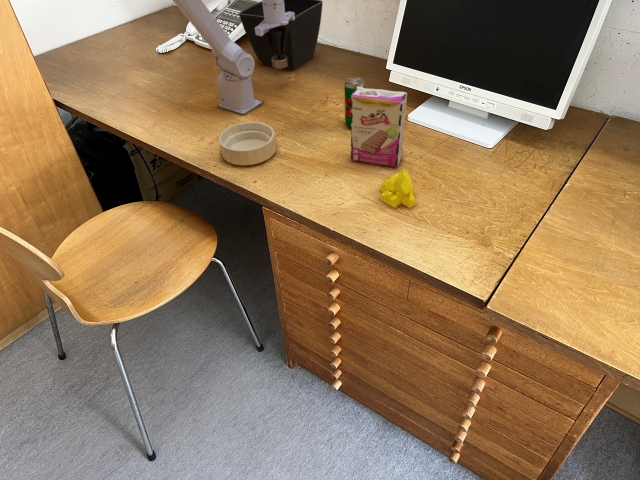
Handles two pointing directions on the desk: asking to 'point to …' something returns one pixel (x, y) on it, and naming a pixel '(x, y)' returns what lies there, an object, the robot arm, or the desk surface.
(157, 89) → the desk surface
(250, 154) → the bowl
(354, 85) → the soda can
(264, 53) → the flower pot
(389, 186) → the yellow faceted lump
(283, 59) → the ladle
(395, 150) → the candy bar box
